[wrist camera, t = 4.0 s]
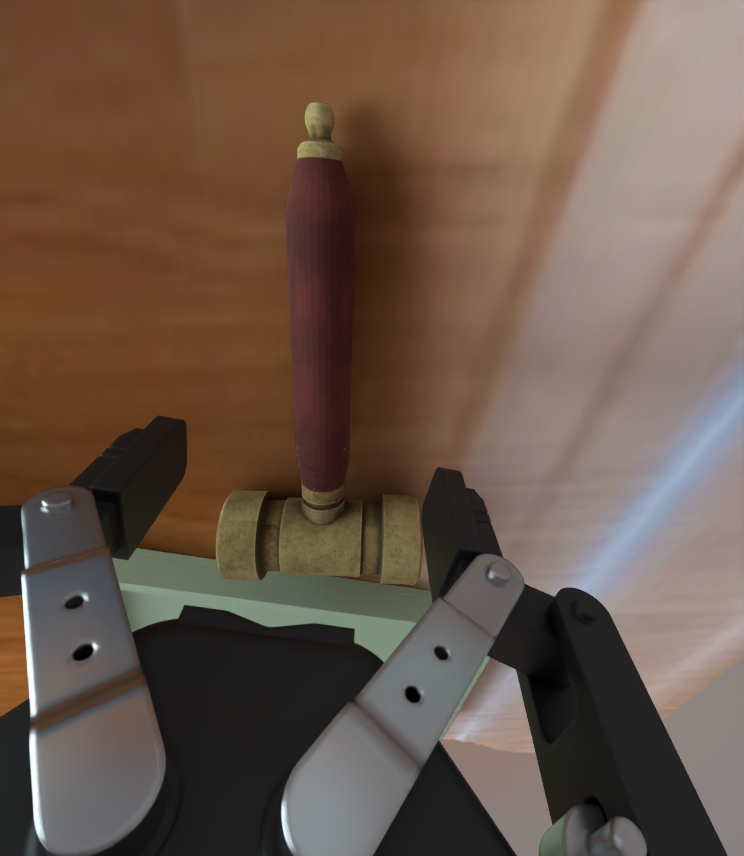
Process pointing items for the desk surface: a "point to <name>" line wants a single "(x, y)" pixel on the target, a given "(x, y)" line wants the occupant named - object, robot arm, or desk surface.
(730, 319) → the desk surface
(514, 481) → the desk surface
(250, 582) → the tray
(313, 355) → the gavel
